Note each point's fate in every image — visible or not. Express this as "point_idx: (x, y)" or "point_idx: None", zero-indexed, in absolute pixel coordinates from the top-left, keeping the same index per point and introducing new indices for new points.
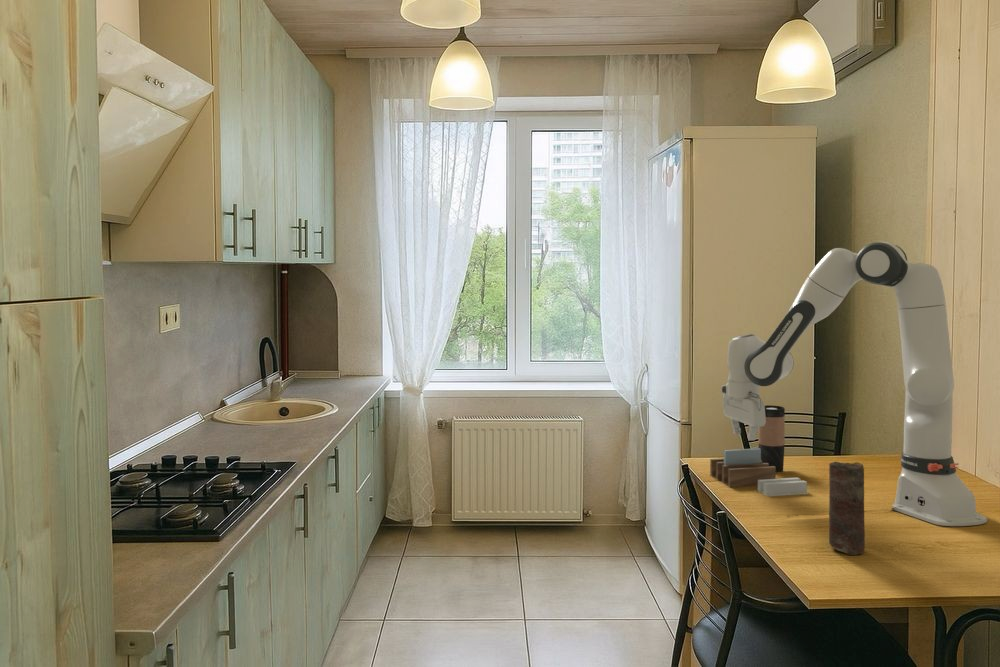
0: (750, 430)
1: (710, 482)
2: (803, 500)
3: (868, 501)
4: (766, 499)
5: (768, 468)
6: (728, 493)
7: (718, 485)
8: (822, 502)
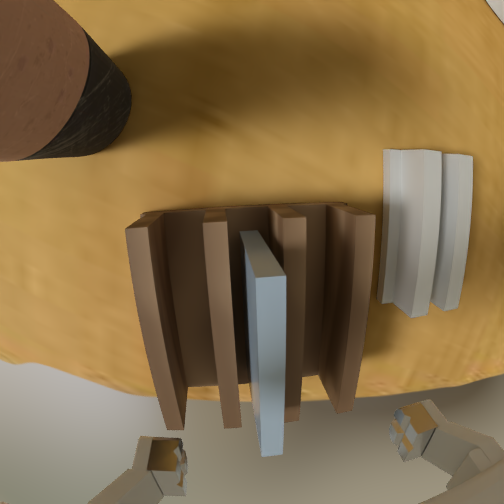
0: (457, 468)
1: None
2: None
3: (481, 39)
4: None
5: (371, 252)
6: None
7: None
8: (485, 151)
